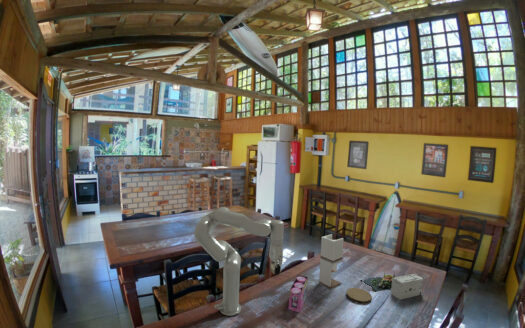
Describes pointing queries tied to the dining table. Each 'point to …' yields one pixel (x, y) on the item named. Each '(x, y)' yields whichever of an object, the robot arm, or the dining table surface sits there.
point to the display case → (330, 260)
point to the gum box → (298, 293)
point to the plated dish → (380, 282)
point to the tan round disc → (359, 295)
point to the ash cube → (274, 267)
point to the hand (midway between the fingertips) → (275, 271)
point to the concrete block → (406, 286)
